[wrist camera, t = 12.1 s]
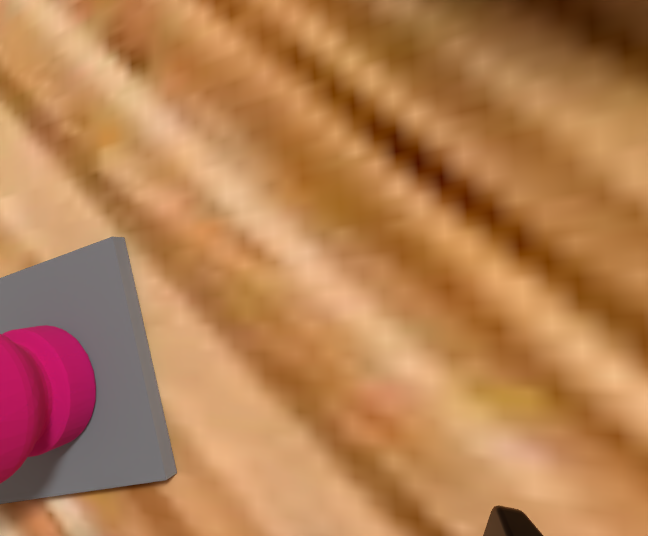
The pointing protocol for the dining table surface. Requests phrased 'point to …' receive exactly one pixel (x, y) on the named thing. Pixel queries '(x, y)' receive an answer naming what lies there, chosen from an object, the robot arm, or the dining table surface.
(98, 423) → the mat
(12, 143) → the dining table surface
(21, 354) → the pepper mill
